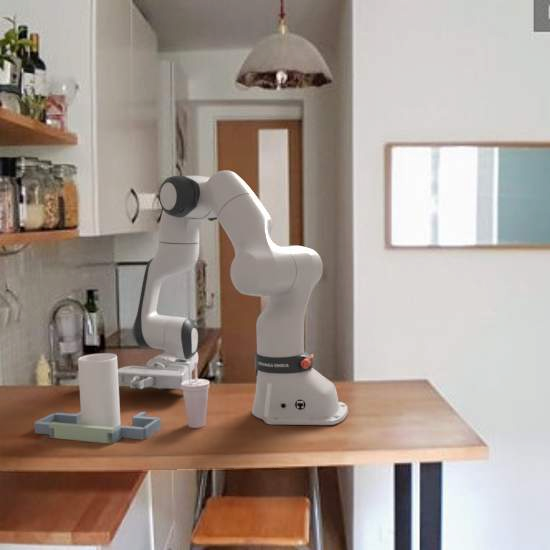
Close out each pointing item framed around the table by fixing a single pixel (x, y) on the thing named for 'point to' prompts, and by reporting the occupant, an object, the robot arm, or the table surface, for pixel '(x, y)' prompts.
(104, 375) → the cup
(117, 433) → the box
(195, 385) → the smoothie
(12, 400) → the table surface
